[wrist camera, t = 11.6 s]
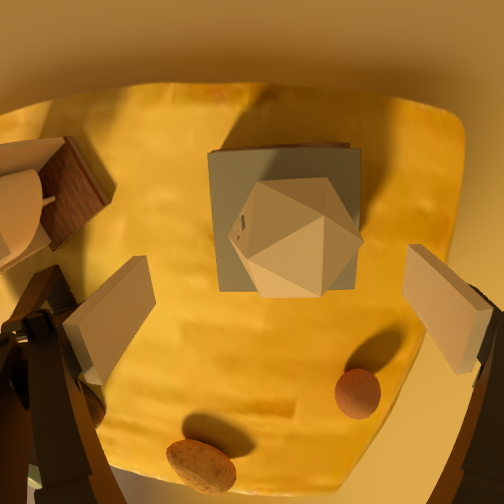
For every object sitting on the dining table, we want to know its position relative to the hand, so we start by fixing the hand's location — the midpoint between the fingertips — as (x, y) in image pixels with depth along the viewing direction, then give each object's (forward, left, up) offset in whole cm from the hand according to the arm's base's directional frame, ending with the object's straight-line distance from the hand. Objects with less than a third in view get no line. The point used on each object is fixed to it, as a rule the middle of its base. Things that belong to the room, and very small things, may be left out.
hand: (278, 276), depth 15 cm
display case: (-28, +3, -21) cm, 35 cm away
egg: (+10, -26, -21) cm, 35 cm away
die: (+1, 0, -11) cm, 11 cm away
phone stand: (-34, -12, -21) cm, 41 cm away
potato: (-15, -46, -21) cm, 52 cm away
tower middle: (+1, 0, -16) cm, 16 cm away
